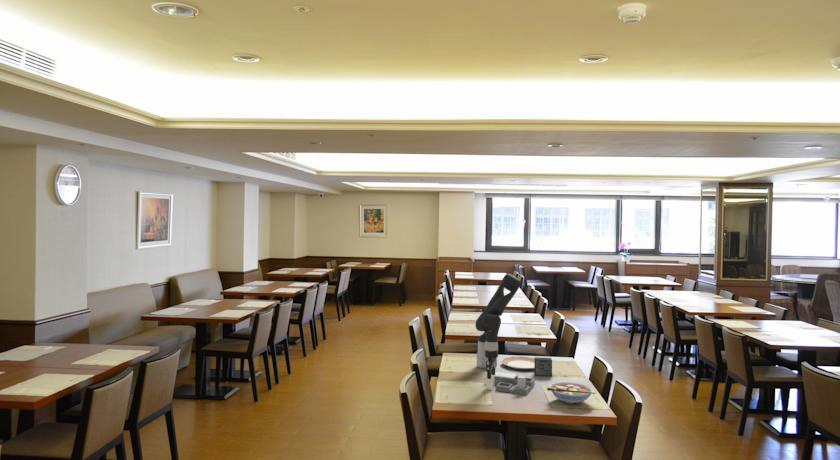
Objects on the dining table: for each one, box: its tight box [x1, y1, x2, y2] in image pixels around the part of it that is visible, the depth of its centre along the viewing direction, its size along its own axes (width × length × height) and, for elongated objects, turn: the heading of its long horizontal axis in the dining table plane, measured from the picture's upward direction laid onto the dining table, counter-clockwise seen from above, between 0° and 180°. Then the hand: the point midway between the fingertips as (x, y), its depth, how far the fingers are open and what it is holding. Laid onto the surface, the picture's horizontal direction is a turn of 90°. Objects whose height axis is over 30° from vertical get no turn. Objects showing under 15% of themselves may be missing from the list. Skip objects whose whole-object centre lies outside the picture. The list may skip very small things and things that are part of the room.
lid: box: [491, 371, 518, 379], centre depth 325 cm, size 16×8×4 cm, turn 66°
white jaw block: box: [485, 375, 495, 391], centre depth 314 cm, size 4×4×7 cm
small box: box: [533, 356, 553, 377], centre depth 344 cm, size 11×6×10 cm, turn 84°
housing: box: [494, 375, 535, 396], centre depth 318 cm, size 27×20×8 cm
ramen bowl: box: [546, 381, 597, 404], centre depth 293 cm, size 25×23×8 cm
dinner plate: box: [501, 356, 535, 371], centre depth 364 cm, size 28×27×3 cm
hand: (491, 376), depth 314 cm, fingers open, 8 cm apart
